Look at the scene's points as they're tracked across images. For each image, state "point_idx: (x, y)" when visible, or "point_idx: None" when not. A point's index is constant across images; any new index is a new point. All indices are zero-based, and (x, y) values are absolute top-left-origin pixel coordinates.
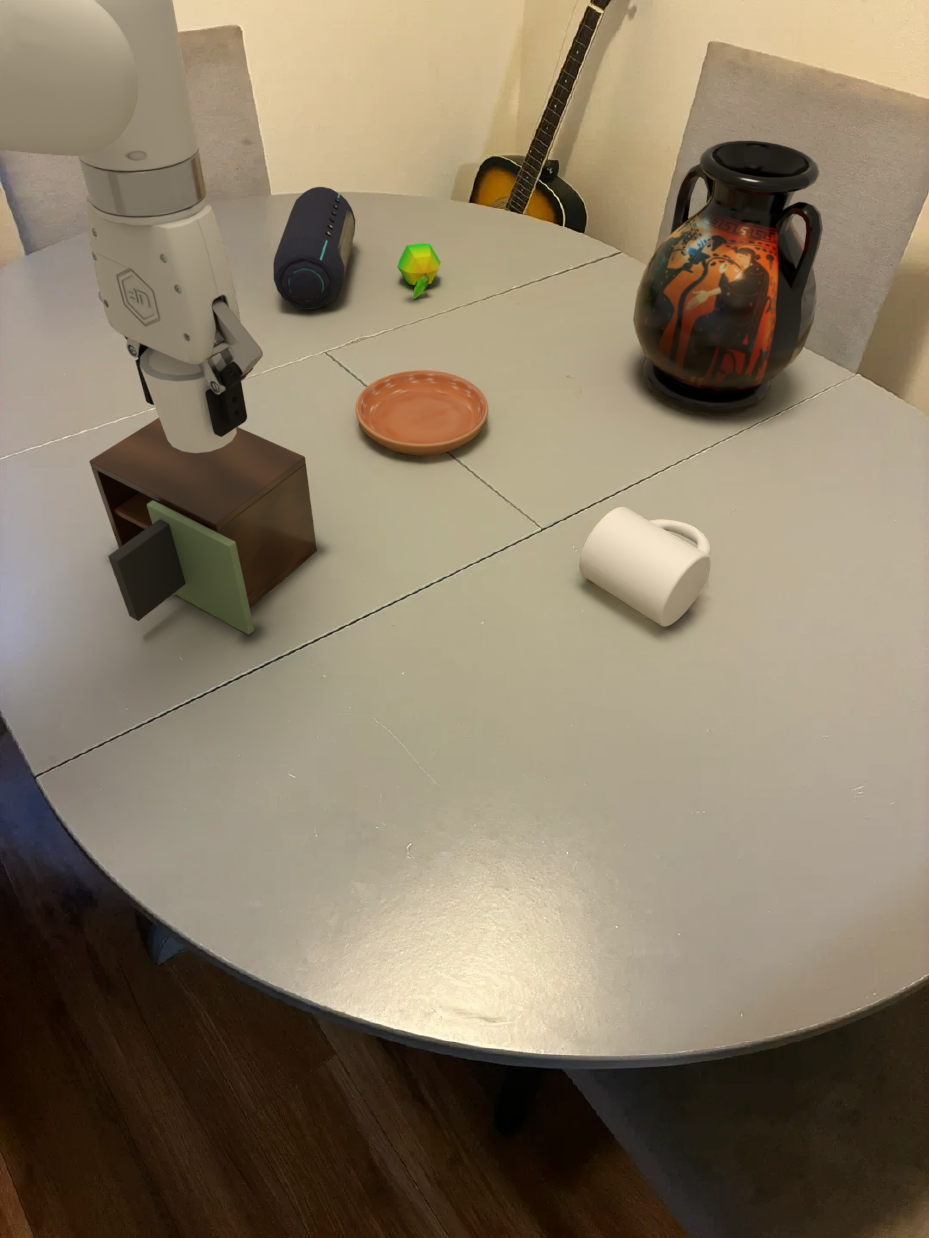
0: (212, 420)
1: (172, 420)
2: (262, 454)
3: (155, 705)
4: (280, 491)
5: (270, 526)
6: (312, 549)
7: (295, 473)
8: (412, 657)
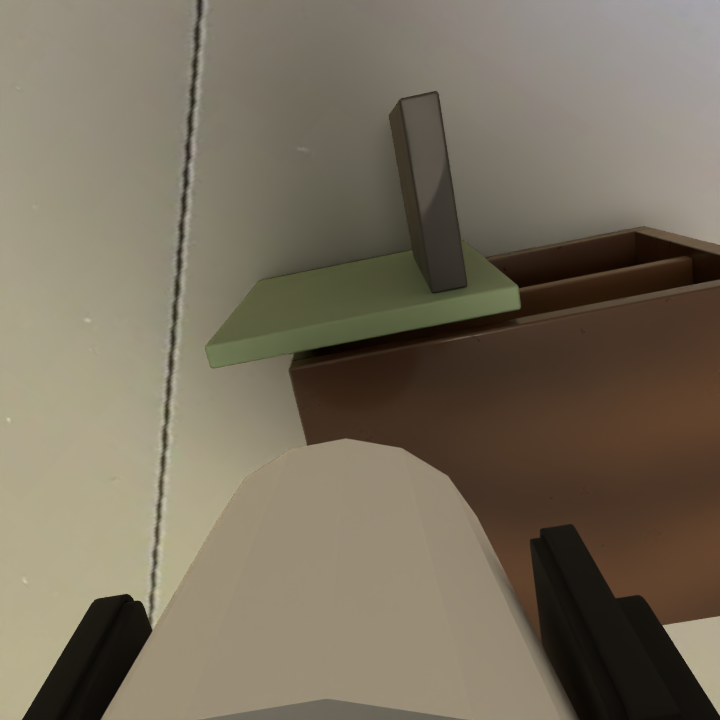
0: (82, 650)
1: (260, 523)
2: None
3: (228, 36)
4: None
5: None
6: None
7: None
8: (29, 453)
